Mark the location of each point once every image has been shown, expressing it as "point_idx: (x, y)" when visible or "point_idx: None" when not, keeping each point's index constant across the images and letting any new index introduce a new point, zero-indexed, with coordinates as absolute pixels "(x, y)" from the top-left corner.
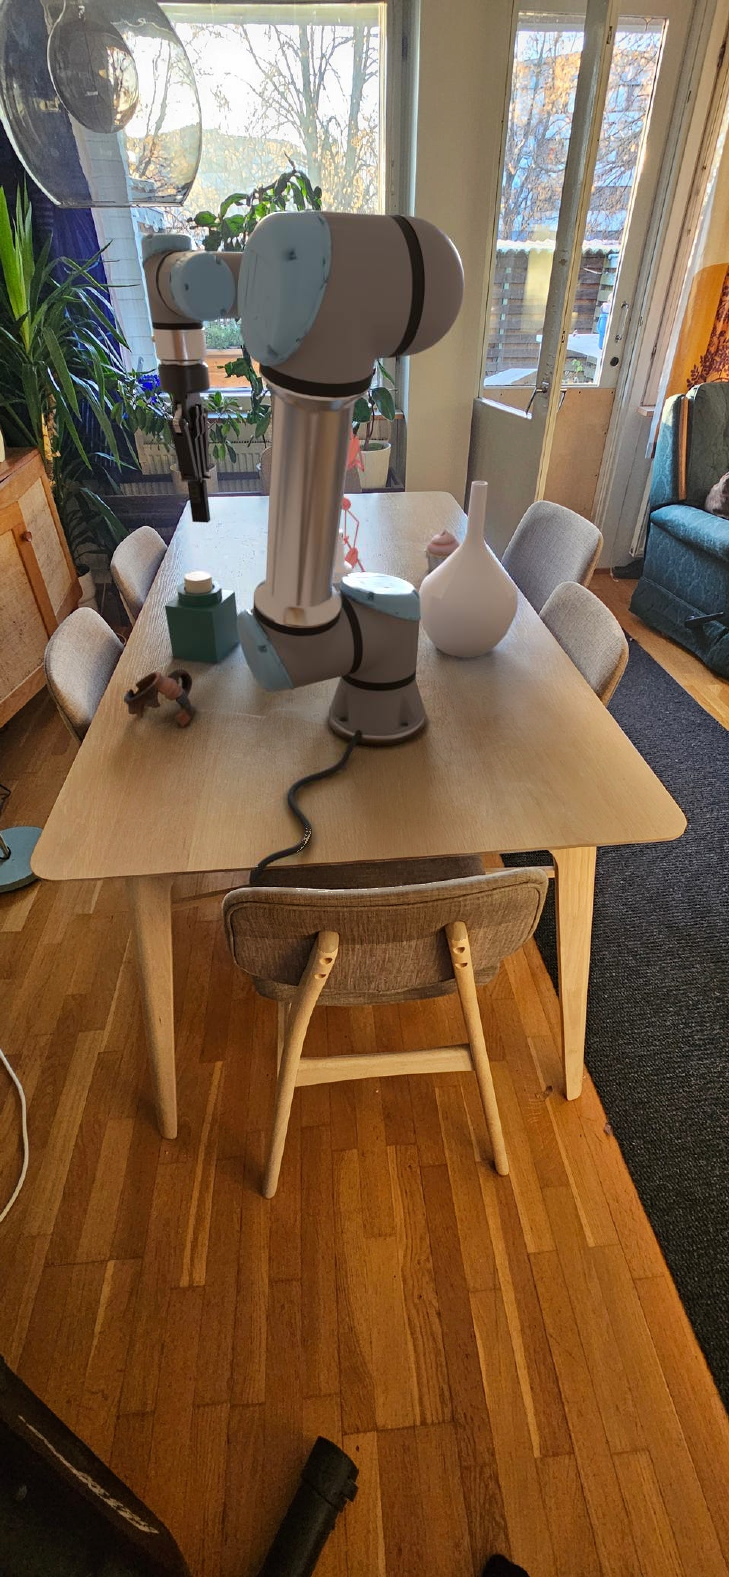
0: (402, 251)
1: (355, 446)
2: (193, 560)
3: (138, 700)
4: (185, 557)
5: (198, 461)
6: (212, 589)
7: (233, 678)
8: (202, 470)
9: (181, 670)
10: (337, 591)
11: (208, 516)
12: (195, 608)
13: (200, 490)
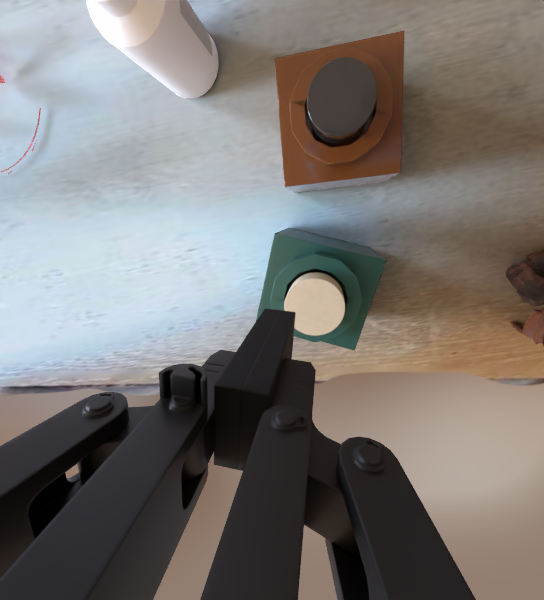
0: None
1: None
2: (28, 347)
3: None
4: (22, 359)
5: (267, 548)
6: (316, 272)
7: (422, 211)
8: (189, 440)
9: (539, 279)
10: (186, 7)
11: (278, 316)
12: (368, 294)
13: (276, 387)
